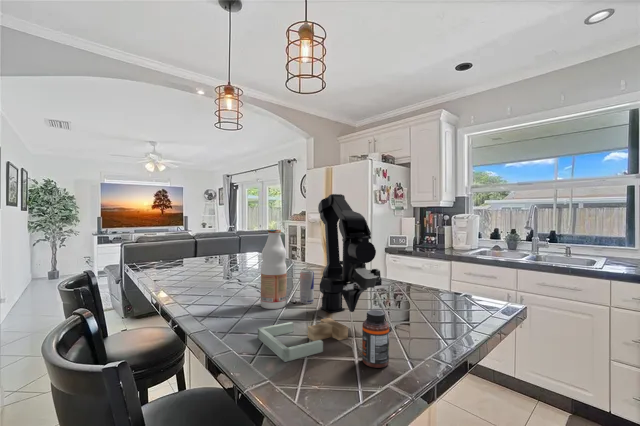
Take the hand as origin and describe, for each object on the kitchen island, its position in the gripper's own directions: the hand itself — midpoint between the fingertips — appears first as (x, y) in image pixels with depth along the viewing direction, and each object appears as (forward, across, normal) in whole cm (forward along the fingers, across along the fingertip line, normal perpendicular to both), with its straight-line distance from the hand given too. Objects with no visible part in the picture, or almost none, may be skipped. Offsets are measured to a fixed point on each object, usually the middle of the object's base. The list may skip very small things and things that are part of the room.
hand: (351, 311), depth 90 cm
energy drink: (+5, +3, +32) cm, 33 cm away
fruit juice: (+5, -10, +34) cm, 36 cm away
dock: (+5, -21, 0) cm, 21 cm away
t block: (+5, -9, 0) cm, 11 cm away
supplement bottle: (+5, -8, -19) cm, 22 cm away
